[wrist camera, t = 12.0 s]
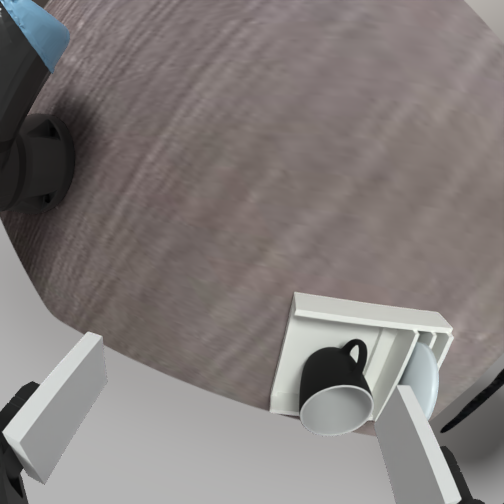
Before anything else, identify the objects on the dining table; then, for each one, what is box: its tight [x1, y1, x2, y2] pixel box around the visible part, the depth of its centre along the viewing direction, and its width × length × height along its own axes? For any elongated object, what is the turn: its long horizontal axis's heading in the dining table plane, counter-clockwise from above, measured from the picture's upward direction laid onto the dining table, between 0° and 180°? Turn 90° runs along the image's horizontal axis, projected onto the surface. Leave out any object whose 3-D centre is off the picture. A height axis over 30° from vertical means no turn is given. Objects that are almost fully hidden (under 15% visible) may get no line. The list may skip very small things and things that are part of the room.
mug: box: [299, 339, 374, 436], centre depth 37 cm, size 12×9×10 cm
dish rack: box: [270, 292, 454, 421], centre depth 40 cm, size 22×17×6 cm
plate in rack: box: [397, 342, 439, 421], centre depth 35 cm, size 1×13×13 cm, turn 171°
